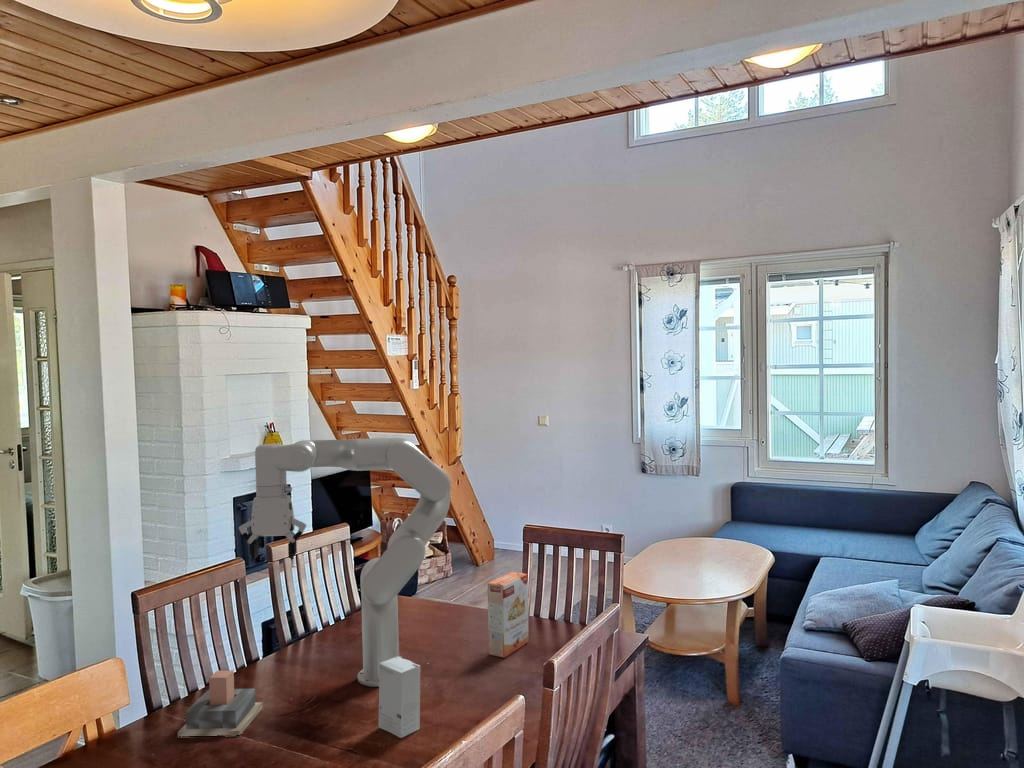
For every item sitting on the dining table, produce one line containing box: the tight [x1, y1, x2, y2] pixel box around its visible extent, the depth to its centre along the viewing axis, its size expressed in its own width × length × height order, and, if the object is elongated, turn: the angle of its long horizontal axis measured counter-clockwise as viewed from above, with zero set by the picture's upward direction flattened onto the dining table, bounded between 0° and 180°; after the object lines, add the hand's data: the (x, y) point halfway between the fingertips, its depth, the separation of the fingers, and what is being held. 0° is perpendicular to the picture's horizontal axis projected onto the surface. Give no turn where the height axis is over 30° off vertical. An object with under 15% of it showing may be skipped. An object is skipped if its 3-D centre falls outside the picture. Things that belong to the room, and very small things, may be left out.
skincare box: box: [378, 657, 421, 739], centre depth 157 cm, size 8×6×15 cm
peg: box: [208, 670, 235, 705], centre depth 163 cm, size 4×4×10 cm
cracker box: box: [487, 571, 530, 659], centre depth 203 cm, size 14×6×21 cm, turn 148°
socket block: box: [177, 688, 264, 738], centre depth 163 cm, size 14×14×5 cm
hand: (273, 557), depth 180 cm, fingers open, 9 cm apart
